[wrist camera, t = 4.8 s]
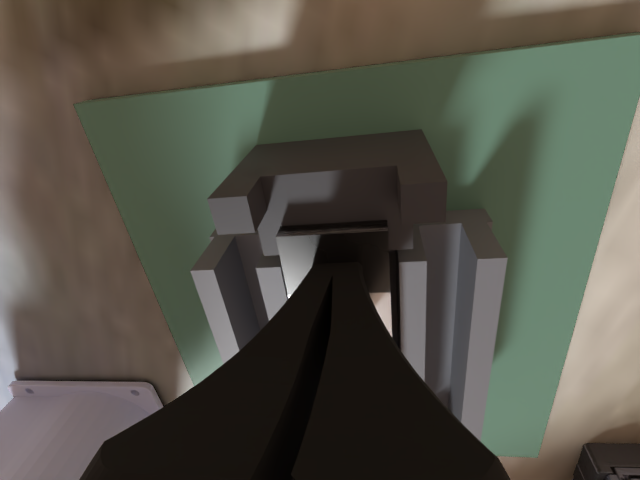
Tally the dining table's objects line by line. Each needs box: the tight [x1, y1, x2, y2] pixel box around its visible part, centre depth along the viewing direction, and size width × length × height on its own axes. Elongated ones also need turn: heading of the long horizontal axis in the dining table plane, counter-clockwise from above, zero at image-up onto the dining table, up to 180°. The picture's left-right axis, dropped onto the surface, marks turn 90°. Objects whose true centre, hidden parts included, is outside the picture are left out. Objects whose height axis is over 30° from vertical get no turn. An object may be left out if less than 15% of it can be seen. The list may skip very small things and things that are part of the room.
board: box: [73, 32, 640, 458], centre depth 15 cm, size 18×20×5 cm
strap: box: [276, 220, 392, 337], centre depth 14 cm, size 3×14×1 cm, turn 8°
